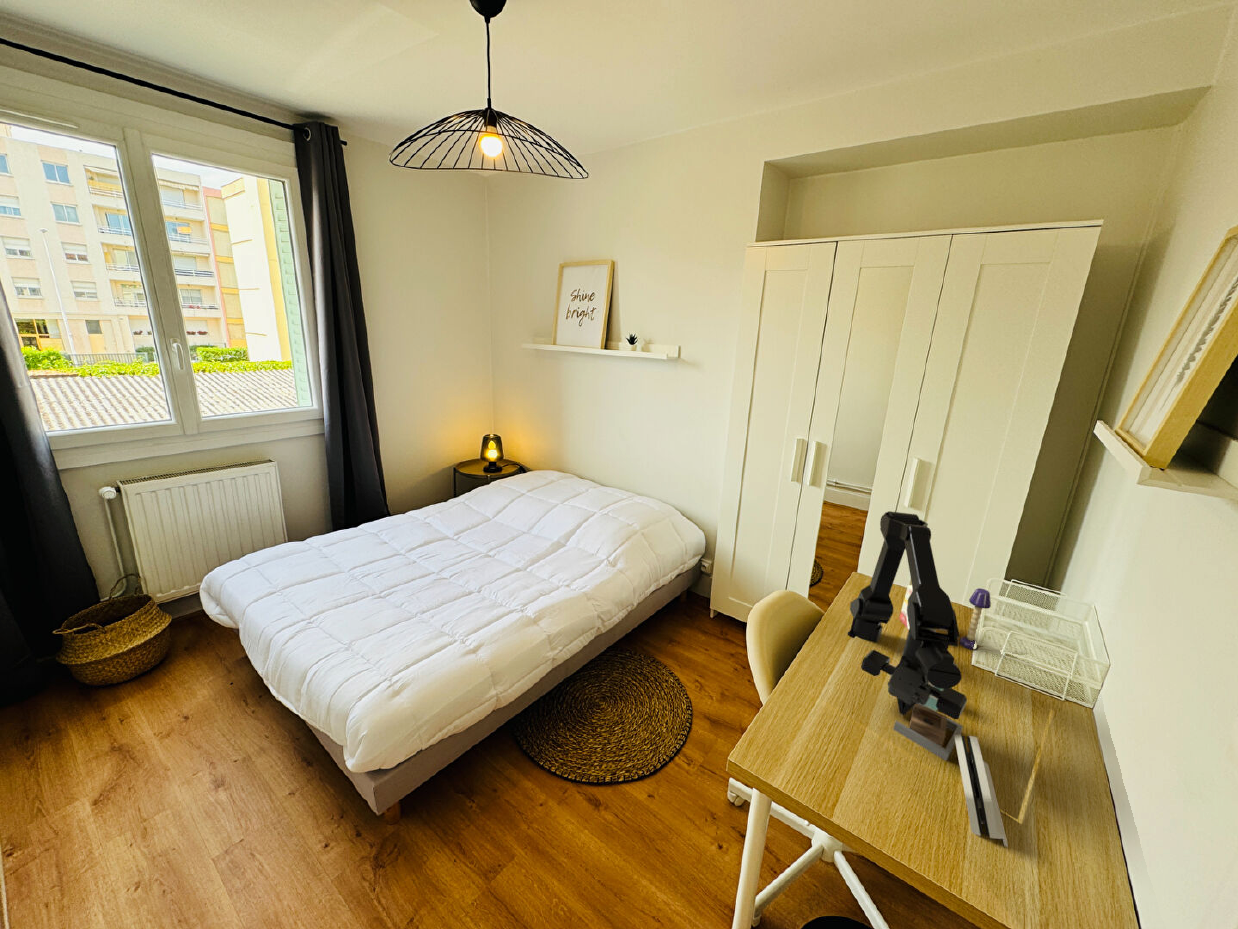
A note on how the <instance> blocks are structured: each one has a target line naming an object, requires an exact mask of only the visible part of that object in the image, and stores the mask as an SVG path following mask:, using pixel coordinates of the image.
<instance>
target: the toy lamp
mask: <svg viewBox="0 0 1238 929" xmlns="http://www.w3.org/2000/svg"><path fill="white" fill-rule="evenodd" d="M968 602H969V603H970V604H971V605H973V606H974V609H973V610H972V613H973V614H971V619H970V624H969V626H968V630H967V634H966V635H967V636H963V637H961V638H960V639H959V641H958V644H960V645H961V646H962V647H964V648H966V649H968V650H973V647H974V644H975V641H976V640H975V639H976V637H975V636H976V634H977V629H978V625H979V624H980V623H979V620H980V619H981V615H982V610H983V609H984V610H985V609H990V608H991V605H992V601H991V593H990V591H989V590H987V589H984V588H976V589H975V590H974V592H973V593H972V595H971V596H970V598H969V600H968Z"/></svg>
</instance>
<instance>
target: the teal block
mask: <svg viewBox="0 0 1238 929" xmlns="http://www.w3.org/2000/svg"><path fill="white" fill-rule="evenodd" d="M936 688H937V687H936ZM937 689H938V690H940V691H943V689H941V688H937ZM936 703H937V700H936V699H934V698H932V697H930V698H929V699H928V701H927V703H926V704H925V706H927V707H929V708H931V709H932V710H934V711H936V712H938V711H939V710H938V708H937V707H936Z"/></svg>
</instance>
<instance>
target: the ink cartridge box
mask: <svg viewBox="0 0 1238 929" xmlns="http://www.w3.org/2000/svg"><path fill="white" fill-rule="evenodd" d="M912 591H913V589H912V584H907V587H906V591H905V596H904V599H903V602H902V603H903V604H902V605H901V606H902V607H901V610H900V615H899V618H898V619H899V620H900V622H901V623H902V624H903V625H904V626H905V627H906V628H907V629H908V631H909V628H910V626H909V621H908V615H907V606H908V598H909V597H910V595H911V593H912Z"/></svg>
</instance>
